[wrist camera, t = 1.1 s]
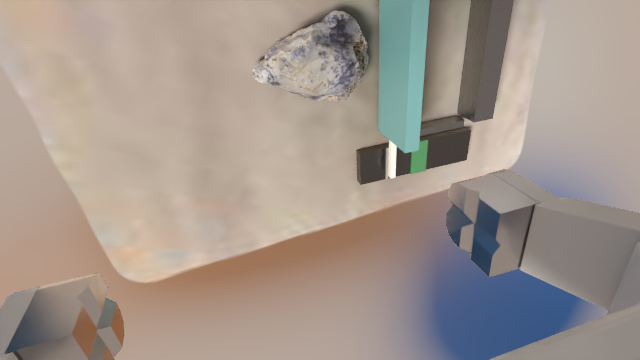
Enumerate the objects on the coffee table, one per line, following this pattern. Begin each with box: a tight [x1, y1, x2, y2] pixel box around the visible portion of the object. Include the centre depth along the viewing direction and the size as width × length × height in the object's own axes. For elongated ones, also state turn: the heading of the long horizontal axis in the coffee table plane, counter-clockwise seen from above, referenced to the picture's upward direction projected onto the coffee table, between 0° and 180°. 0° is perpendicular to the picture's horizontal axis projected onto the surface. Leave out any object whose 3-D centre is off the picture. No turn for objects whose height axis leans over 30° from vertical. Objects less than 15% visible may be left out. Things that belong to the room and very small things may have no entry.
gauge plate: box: [378, 0, 430, 178], centre depth 35 cm, size 23×2×6 cm, turn 5°
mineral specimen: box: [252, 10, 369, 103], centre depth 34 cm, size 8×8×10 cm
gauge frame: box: [357, 0, 514, 185], centre depth 37 cm, size 25×15×3 cm, turn 5°
